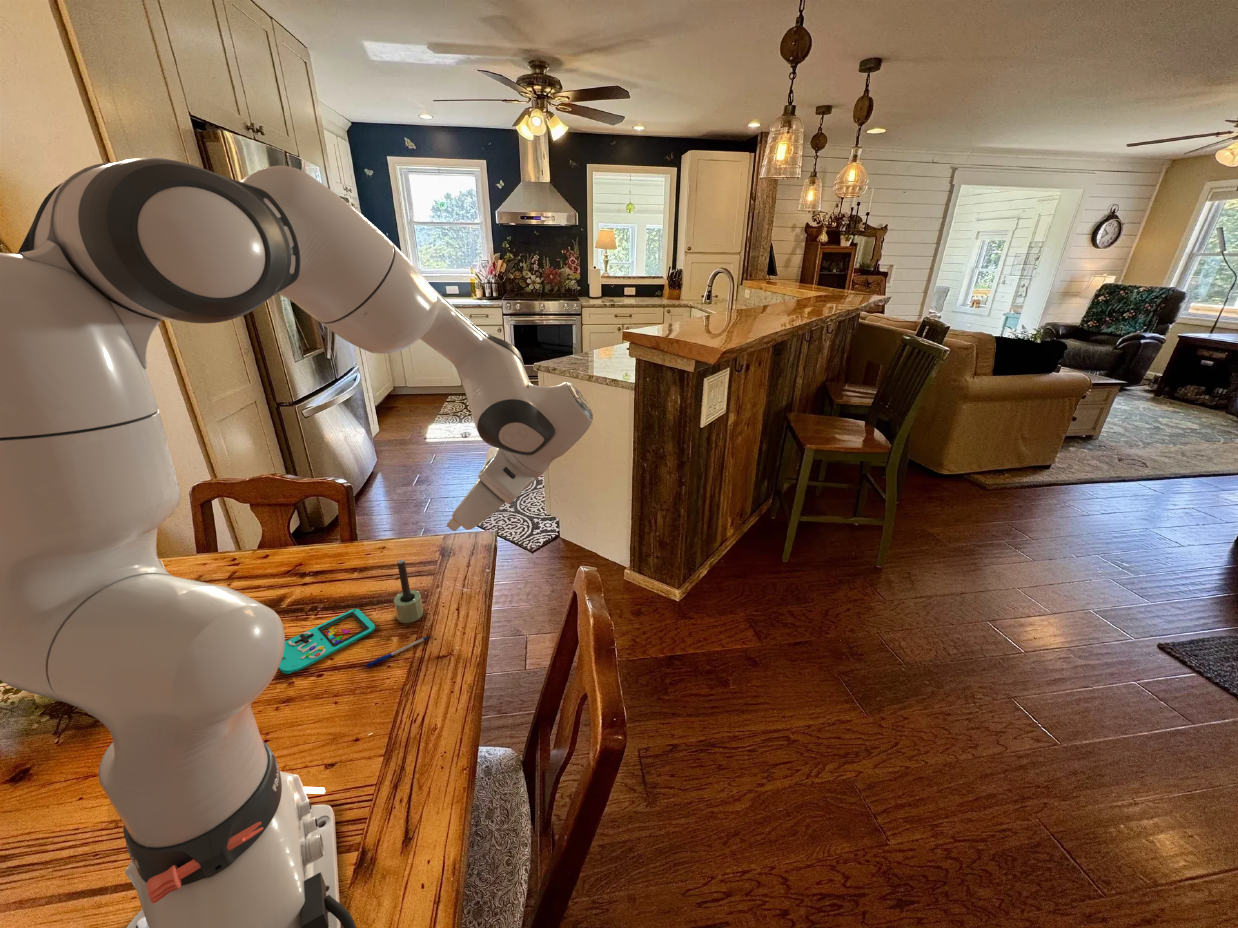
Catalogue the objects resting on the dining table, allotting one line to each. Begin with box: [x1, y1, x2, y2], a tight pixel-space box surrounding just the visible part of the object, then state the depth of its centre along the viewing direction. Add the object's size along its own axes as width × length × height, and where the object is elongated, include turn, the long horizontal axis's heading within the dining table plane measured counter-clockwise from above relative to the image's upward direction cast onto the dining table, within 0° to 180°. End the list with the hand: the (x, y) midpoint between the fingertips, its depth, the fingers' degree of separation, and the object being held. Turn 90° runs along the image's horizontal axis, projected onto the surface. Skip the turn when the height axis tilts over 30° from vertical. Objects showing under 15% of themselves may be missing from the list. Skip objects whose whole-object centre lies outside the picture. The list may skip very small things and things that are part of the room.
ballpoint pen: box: [365, 636, 429, 668], centre depth 85 cm, size 10×1×1 cm, turn 134°
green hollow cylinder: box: [393, 589, 424, 624], centre depth 93 cm, size 5×5×4 cm
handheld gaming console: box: [278, 608, 376, 675], centre depth 87 cm, size 8×1×15 cm
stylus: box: [396, 559, 412, 602], centre depth 92 cm, size 1×1×12 cm
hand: (461, 512), depth 85 cm, fingers open, 8 cm apart
